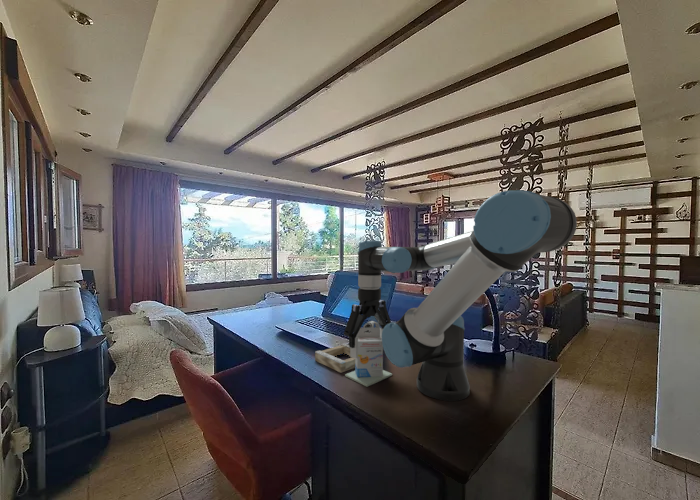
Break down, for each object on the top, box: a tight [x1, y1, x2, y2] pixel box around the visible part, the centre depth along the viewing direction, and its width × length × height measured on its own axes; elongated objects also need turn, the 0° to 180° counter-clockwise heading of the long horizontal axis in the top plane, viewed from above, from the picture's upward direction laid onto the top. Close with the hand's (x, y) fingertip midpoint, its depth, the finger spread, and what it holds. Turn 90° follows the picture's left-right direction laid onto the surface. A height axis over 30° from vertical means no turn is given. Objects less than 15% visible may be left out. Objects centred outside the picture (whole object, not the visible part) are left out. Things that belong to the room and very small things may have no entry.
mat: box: [344, 369, 393, 388], centre depth 99 cm, size 10×12×1 cm
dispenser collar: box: [314, 342, 355, 374], centre depth 111 cm, size 14×14×3 cm
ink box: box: [354, 326, 384, 377], centre depth 99 cm, size 8×5×15 cm, turn 97°
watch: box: [362, 320, 381, 333], centre depth 127 cm, size 6×8×11 cm
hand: (368, 352), depth 99 cm, fingers open, 13 cm apart
